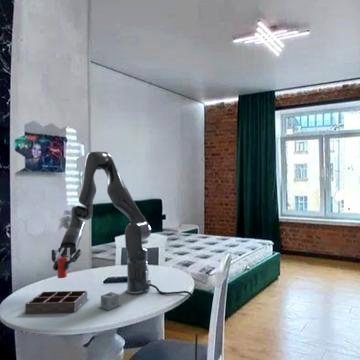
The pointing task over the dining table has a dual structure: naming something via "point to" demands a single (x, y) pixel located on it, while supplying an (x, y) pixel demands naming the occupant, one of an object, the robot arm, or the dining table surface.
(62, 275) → the red cylinder
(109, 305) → the dice cube
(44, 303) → the grid
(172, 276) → the dining table surface
